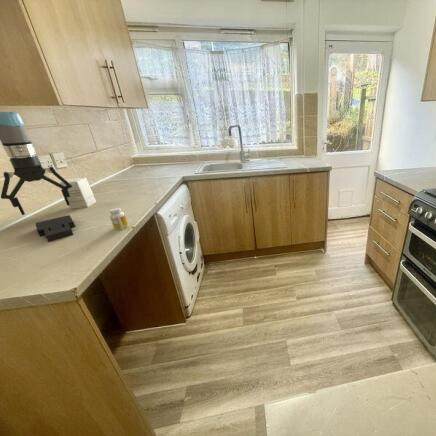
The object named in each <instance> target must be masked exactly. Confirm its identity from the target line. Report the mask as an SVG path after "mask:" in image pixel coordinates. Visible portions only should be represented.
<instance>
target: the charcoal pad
mask: <svg viewBox="0 0 436 436" xmlns="http://www.w3.org/2000/svg"><path fill="white" fill-rule="evenodd" d="M66 223H68V224H69V226H70V228H71V229H73V228H76V224H75V222H74V220H73V218H72V217H71V215H70V214H68V215H64V216H59V217H55V218H51V219H47V220H42V221H37V222H35V228H36V232H37V234H38V236H39V237H44V236H45V232H44V229H46V228H48V229H49V231H51V230H55V229H59V228H63V227H65V226H64V224H66Z"/></svg>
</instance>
